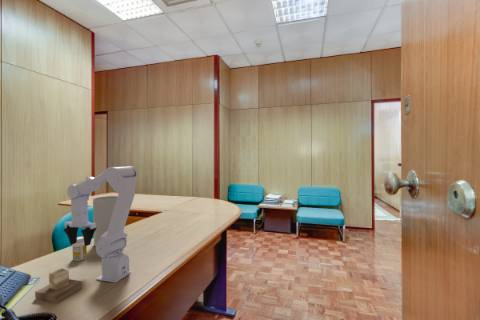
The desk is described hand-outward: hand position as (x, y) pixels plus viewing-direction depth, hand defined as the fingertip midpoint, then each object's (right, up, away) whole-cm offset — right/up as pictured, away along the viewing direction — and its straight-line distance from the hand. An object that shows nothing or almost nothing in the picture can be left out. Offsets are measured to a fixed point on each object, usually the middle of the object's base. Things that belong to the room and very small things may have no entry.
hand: (80, 244), depth 99 cm
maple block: (+5, -8, -18) cm, 20 cm away
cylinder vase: (-6, -10, +30) cm, 32 cm away
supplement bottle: (-7, -11, +10) cm, 17 cm away
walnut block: (+5, -11, -18) cm, 21 cm away
